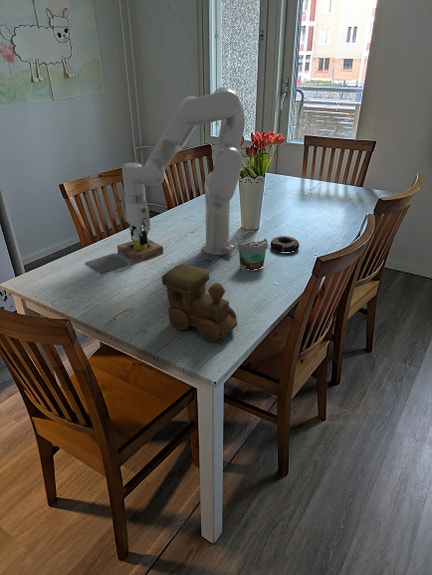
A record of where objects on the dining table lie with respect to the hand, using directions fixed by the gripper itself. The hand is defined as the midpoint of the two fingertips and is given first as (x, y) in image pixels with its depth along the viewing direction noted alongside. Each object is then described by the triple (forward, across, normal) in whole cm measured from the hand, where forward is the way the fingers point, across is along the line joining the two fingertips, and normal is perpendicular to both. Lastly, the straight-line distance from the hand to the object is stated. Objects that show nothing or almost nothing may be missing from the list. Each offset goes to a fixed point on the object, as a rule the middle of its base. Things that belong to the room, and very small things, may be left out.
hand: (139, 241), depth 164 cm
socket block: (+5, 0, 0) cm, 5 cm away
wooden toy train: (+5, -56, +15) cm, 58 cm away
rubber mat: (+5, 0, +15) cm, 16 cm away
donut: (+5, -36, -46) cm, 59 cm away
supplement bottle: (+5, 0, 0) cm, 5 cm away
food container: (+5, -40, -24) cm, 47 cm away
